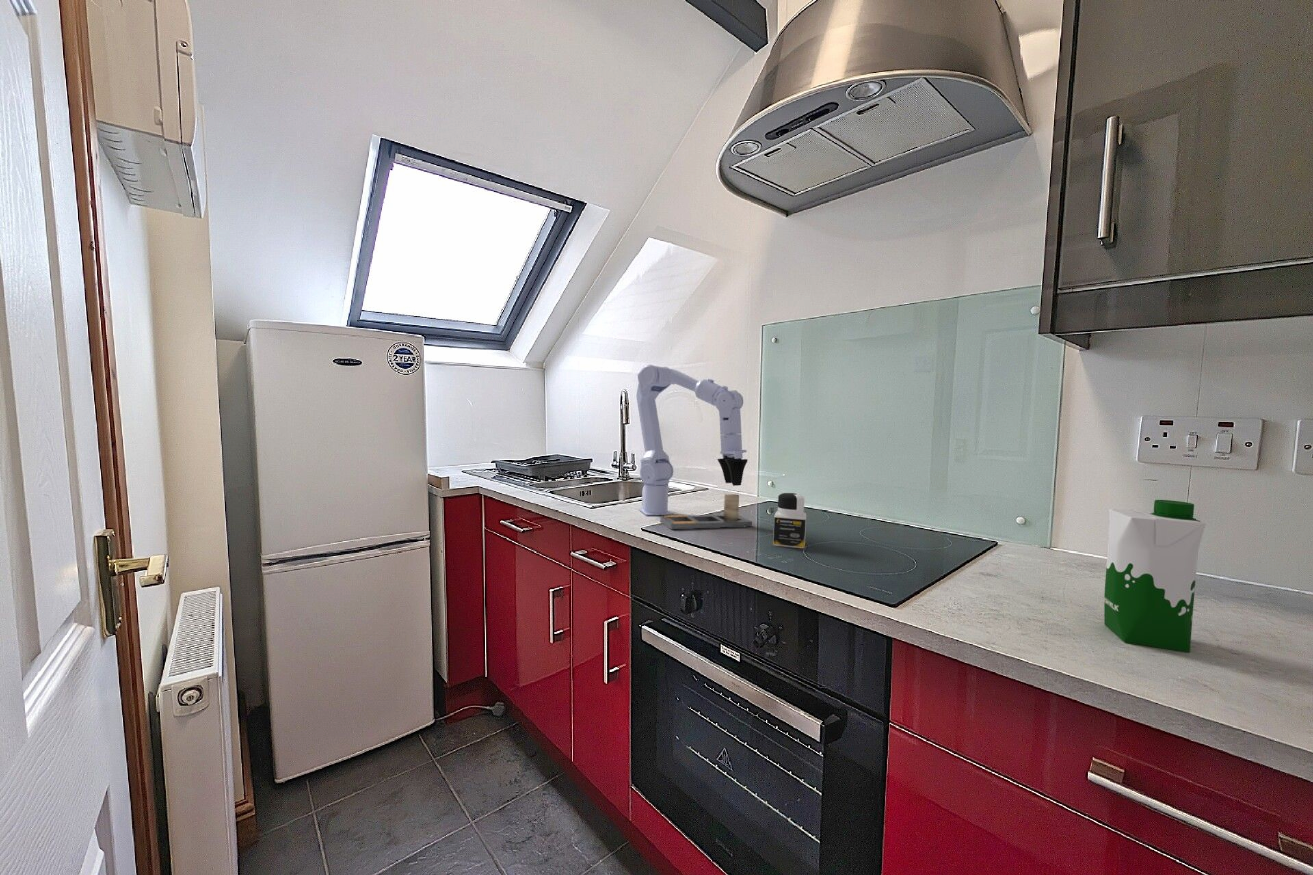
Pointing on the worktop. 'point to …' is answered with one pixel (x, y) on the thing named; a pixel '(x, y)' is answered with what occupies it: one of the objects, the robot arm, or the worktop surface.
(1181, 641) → the milk carton
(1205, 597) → the worktop surface
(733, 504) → the peg
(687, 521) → the gray compartment tray
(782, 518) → the medicine bottle
